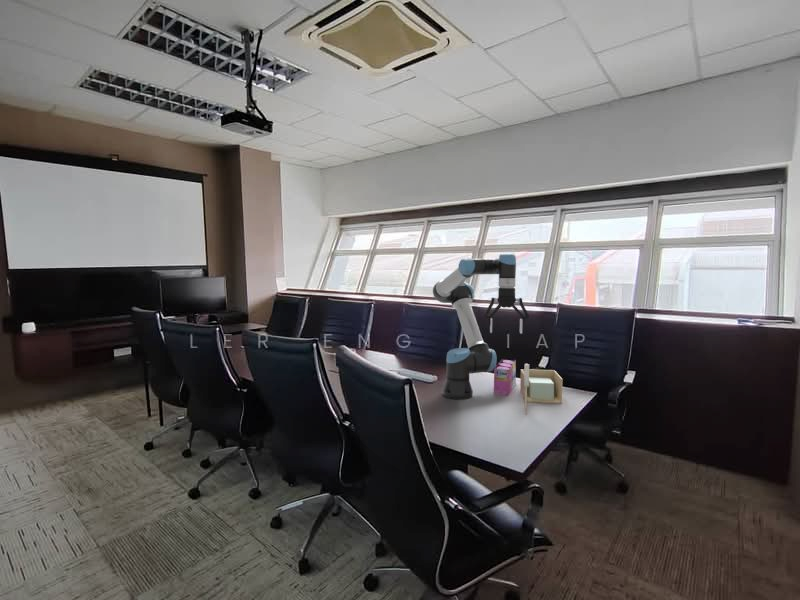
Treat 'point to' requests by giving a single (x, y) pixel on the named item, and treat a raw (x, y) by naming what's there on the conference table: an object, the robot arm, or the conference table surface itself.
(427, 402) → the conference table surface
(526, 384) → the front flap
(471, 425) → the conference table surface
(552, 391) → the carton
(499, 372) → the gum box
